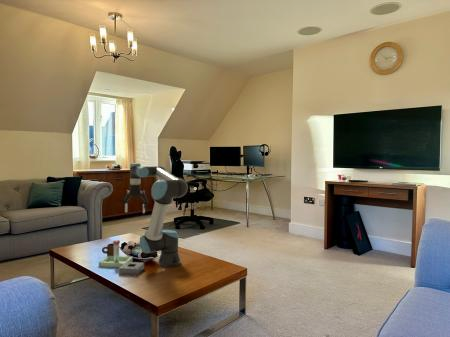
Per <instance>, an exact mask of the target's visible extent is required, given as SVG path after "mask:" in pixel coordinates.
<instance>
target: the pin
mask: <svg viewBox="0 0 450 337" xmlns="http://www.w3.org/2000/svg"><path fill="white" fill-rule="evenodd" d="M112 243H113V244H114V262H115V263H119V256H120V243H121V241H120V240H117V239H116V240H113V241H112Z"/></svg>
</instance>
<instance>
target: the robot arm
mask: <svg viewBox="0 0 450 337" xmlns="http://www.w3.org/2000/svg"><path fill="white" fill-rule="evenodd" d="M149 177H152V178H153V177H154V178H155V177H156V178H157V179H158V180H156V181H155V182H154V183H153V184H152V186H151V191H150V192H151V197H152V199H153V201H154V204H153V208H152V212H151V216H150V221H149V225H148V228H147V230H145V232H144V235H142V236H140V237H139V247H140V250H141V252H143V253H144V254H151V253H155V252H160V251H161V252H160V255H159V259H158V266H160V267H164V268H174V267H177V266H180V264H181V258H180V254H179V233H178V231H176V230H174V229H172V230H171V229H163V227H164V223H165V219H166V215H167V211H168V208H169V205H171V204H172V202H173V199H179V198H180V199H181V198H182V197H184V196H185V195H186V194H187V192H188V189H189V185H188V182H187V181H186V180H185V179H183V178H181V177H177V176H175V175H174V174H172V173H170V172H169V171H167V170H166V168H165V166H161V165H159V166H142V165H141V163H138V162H137V163H136V162H135V163H134V162H133V163H130V167H129V184H130V185H129V190H128V189H127V190H125V194H124V196H123V197H122V199H121V203H122V204H123V208H124V212H125V213H128V201H130V199H132V197H133V198H134V197H136V198H137V197H138V199H139V200H140V201H141V202H142V214H145V213H146V209H147V204H149V203H150V201H149V200H148V198H147V195H146V193H145V192H146V191H145V190H141V188H142V187H141V184H142V183H141V178H149ZM141 194H142V195H141ZM142 196H143V197H142Z"/></svg>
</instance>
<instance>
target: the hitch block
mask: <svg viewBox="0 0 450 337" xmlns="http://www.w3.org/2000/svg"><path fill="white" fill-rule="evenodd" d="M144 269H145V262H138V261H137V262H136V261H134V262H133V261H132V262H126V263H125V264H123V265H122V266H121V267H120V268H118V275H122V276H138V275H139V274H140V273H141V272H142V271H143V270H144Z"/></svg>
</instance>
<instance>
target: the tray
mask: <svg viewBox="0 0 450 337" xmlns="http://www.w3.org/2000/svg"><path fill="white" fill-rule="evenodd" d="M133 259H134V257H133V256H122V255H121V256H120V255H119V263H115V262H114V256H107V255H106V257H104V258H103V259H101V260H100V261H98V268H118V269H119V268H120V267H121V266H122V265H123V264H125V263H126V262H133V261H134V260H133Z"/></svg>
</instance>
